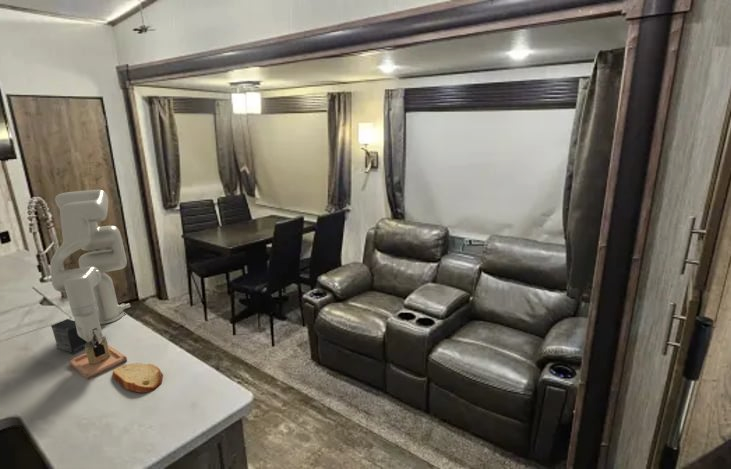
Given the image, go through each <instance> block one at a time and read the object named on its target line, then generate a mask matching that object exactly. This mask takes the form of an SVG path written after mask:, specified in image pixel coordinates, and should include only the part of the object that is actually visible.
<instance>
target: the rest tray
mask: <svg viewBox="0 0 731 469" xmlns="http://www.w3.org/2000/svg"><path fill="white" fill-rule="evenodd" d="M108 347H109V351H110V354H111V356H110V357H109V358H107V359H105V360H104V361H102V362H98V363H96V364H93V365H90V364H89V361H88V358H87V354H86V352H85V353H83V354H81V355H78V356H75V357H74V358H73V357H72V358H71V359H69V360H68V364H69V365H70V367H72V368H73V369H75V371H77V372H78V373H79V374H81V375H82V376H83V377H84V378H85V379H86V380H91V379H92V378H94V377H96V376H98V375H100V374H103V373H106V372H107V371H109V370H111V369H113V368H116V367H119V366H120V365H122V364H123V363H126V362H128V358H127V356H126V355H124V354H123V353H121V352H120V351H118V350H117V349H115V348H114V347H112V346H111V345H109V344H108Z"/></svg>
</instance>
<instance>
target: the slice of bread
mask: <svg viewBox="0 0 731 469" xmlns="http://www.w3.org/2000/svg"><path fill="white" fill-rule="evenodd" d="M111 376H112V378H113V379H114V381H115V382H116V383H118V384H119V385H121V387H123V388H124V389H126V390H127V391H132V392H136V393H149V392H153V391H156V390H157V389H158V388H159V387H160V386H161V385H162V383H163V378H164V374H163V372H162V371H161V369H160V368H159V367H158V366H156V365H154V364H151V363H147V364H146V363H142V362H141V363H140V362H138V363H129V364H124V365H121V366H120V365H119V366H117V367H114V369H113V371H112V374H111Z"/></svg>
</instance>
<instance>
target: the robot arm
mask: <svg viewBox="0 0 731 469" xmlns="http://www.w3.org/2000/svg"><path fill="white" fill-rule="evenodd" d="M54 201H55V204H56V206H57V208H58V209H59V215H60V216H59V217H60V225H61V233H62V234H61V236H62V243H61V245H60V246H59V247H58V248H57V250H56V251H55V252H54V254H53V255H52V258H51V259H50V265H49V266H50V278H51V279H50V280H51V286H52V287H53V289H54V290H55V291H56V292H59V293H64V292H66V298H67V300H68V304H69V308H70V311H71V314H72V317H73V318H74V321H75V324H76V329H77V334H78V336H79V337H81V338H82V339H83V340H84V345H85V343H86V341H87V342H90V341H91V342H92V344H93V346H94V347H93V350H94V354H95V357H98V356H101V355H103V354H105V349H104V345H103V339H102V336H103V330H102V326H101V325H105V324H109V323H113V322H115V321H118V320H120V319H121V318H123V317H124V315H125V311H124V310H125V309H128V308H131V303H129V302H128V303H121V304H118V298H117V296H116V291H115V287H114V286H115V285H114V282H113V279H112V278H111V276H110V275H109V274H107V273H108V272H112V271H118V270H119V271H120V270H122V269H125V268H126V267H127V264H128V261H127V255H126V254H127V253H126V252H125V247H124V243H123V242H124V241H123V238H122V235H121V234H122V233H121V232H120V229H119V228H118V227H117V226H115V225H103V226H99V225H98V222H103V221H105V220H106V219H107V216H108V212H109V197H108V194H107V193H106V192H105V191H104V190H103V189H89V190H88V189H87V190H77V191H67V192H62V193H59V194H57V195H56V196H55V200H54ZM108 248H109V249H108ZM102 249H103V250H102ZM104 249H105V250H104ZM79 250H82V251H91V252H87V253H84V254H81V256H80V257H79V259H78V267H79V268H78V267H77V268H72V269H66V270H62V266H63V263H64V261H65V260H66V259H67V258H68V257H69V256H71V255H72V254H74V253H75V252H77V251H79ZM94 250H97V251H94ZM93 337H96V338H94V339H93ZM96 339H97V341H96V343H95V342H94V340H96Z"/></svg>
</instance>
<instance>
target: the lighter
mask: <svg viewBox="0 0 731 469" xmlns="http://www.w3.org/2000/svg"><path fill="white" fill-rule="evenodd" d="M94 338H96V337H93V339H94ZM102 339H103V345H104V349H105V354H103V355H101V356H98V357H95V354H94V350H93V347H94V346H93V344H92V342H91V341H90V342H87V341H86V343H85V348H84V350H85V353H86V354H87V358H88V361H89V364H90V365H93V364H96V363H98V362H102V361H104V360H105V359H107V358H109V357H110V356H111V354H110V351H109V347H108V345H109V344H108V340H107V337H106V336H103V335H102ZM96 341H97V339H96V340H94V342H95V343H96Z"/></svg>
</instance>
